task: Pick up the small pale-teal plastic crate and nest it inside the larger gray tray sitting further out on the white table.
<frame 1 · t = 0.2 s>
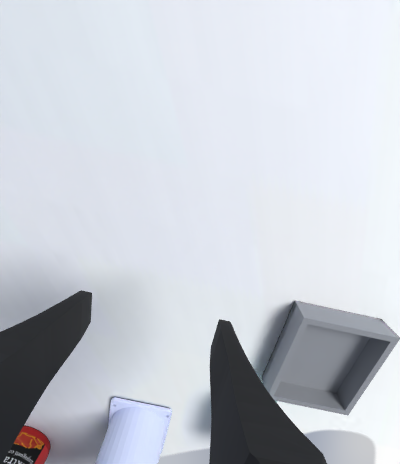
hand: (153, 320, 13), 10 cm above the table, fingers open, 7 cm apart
canned food: (28, 439, 35), on the table
gray tray: (317, 350, 25), on the table
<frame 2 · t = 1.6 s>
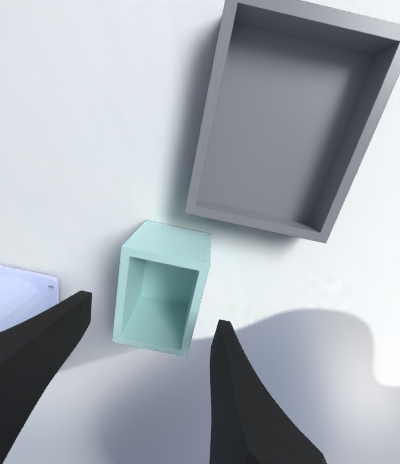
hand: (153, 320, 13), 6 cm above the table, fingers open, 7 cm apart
gray tray: (273, 136, 15), on the table
small crate: (171, 266, 19), on the table
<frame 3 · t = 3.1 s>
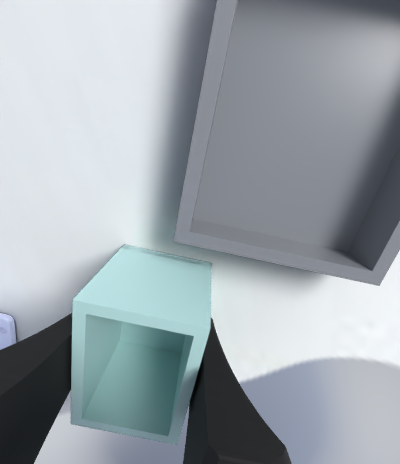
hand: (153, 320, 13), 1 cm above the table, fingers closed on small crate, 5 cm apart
gray tray: (302, 130, 10), on the table
small crate: (159, 304, 14), on the table, touching gripper
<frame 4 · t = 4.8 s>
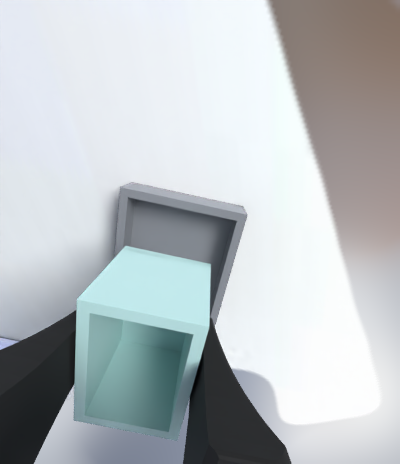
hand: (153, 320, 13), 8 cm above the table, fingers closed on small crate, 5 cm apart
gray tray: (176, 255, 21), on the table
small crate: (159, 304, 14), point 7 cm above the table, touching gripper
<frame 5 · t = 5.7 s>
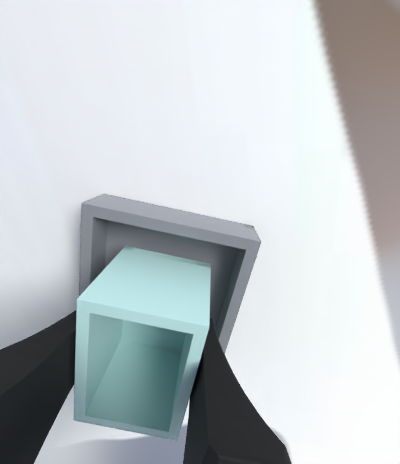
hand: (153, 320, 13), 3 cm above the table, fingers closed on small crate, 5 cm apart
gray tray: (165, 287, 16), on the table
small crate: (159, 304, 14), point 2 cm above the table, touching gripper
when the fingers open (3 cm above the table, at t = 6.6 s): small crate stays where it is, resting on gray tray.
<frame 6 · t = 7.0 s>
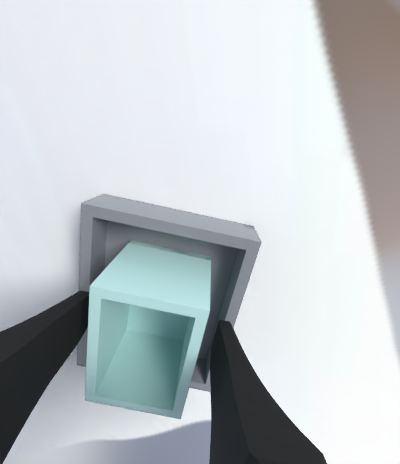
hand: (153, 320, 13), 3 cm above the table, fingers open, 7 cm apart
gray tray: (165, 287, 16), on the table
small crate: (162, 295, 15), point 1 cm above the table, touching gray tray
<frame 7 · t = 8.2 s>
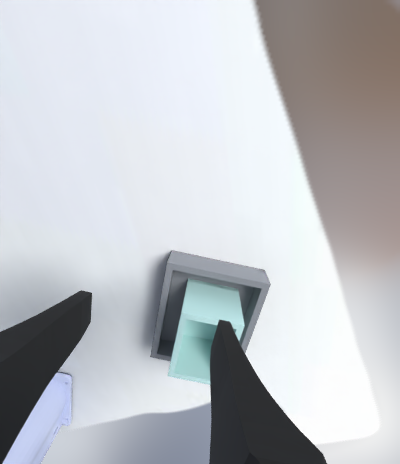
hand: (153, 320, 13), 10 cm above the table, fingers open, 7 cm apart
gray tray: (206, 306, 24), on the table
small crate: (205, 312, 24), point 1 cm above the table, touching gray tray
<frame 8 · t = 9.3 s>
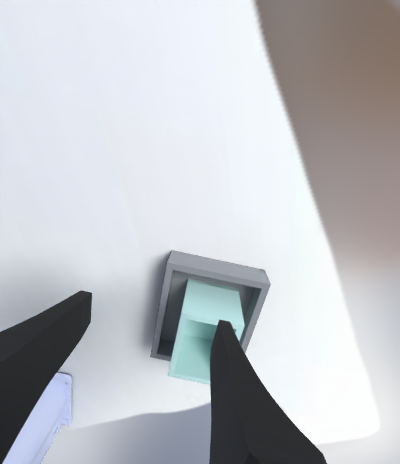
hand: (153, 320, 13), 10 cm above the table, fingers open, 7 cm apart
gray tray: (206, 306, 24), on the table
small crate: (205, 312, 24), point 1 cm above the table, touching gray tray
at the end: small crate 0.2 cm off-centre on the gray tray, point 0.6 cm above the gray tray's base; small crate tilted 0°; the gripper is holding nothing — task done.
